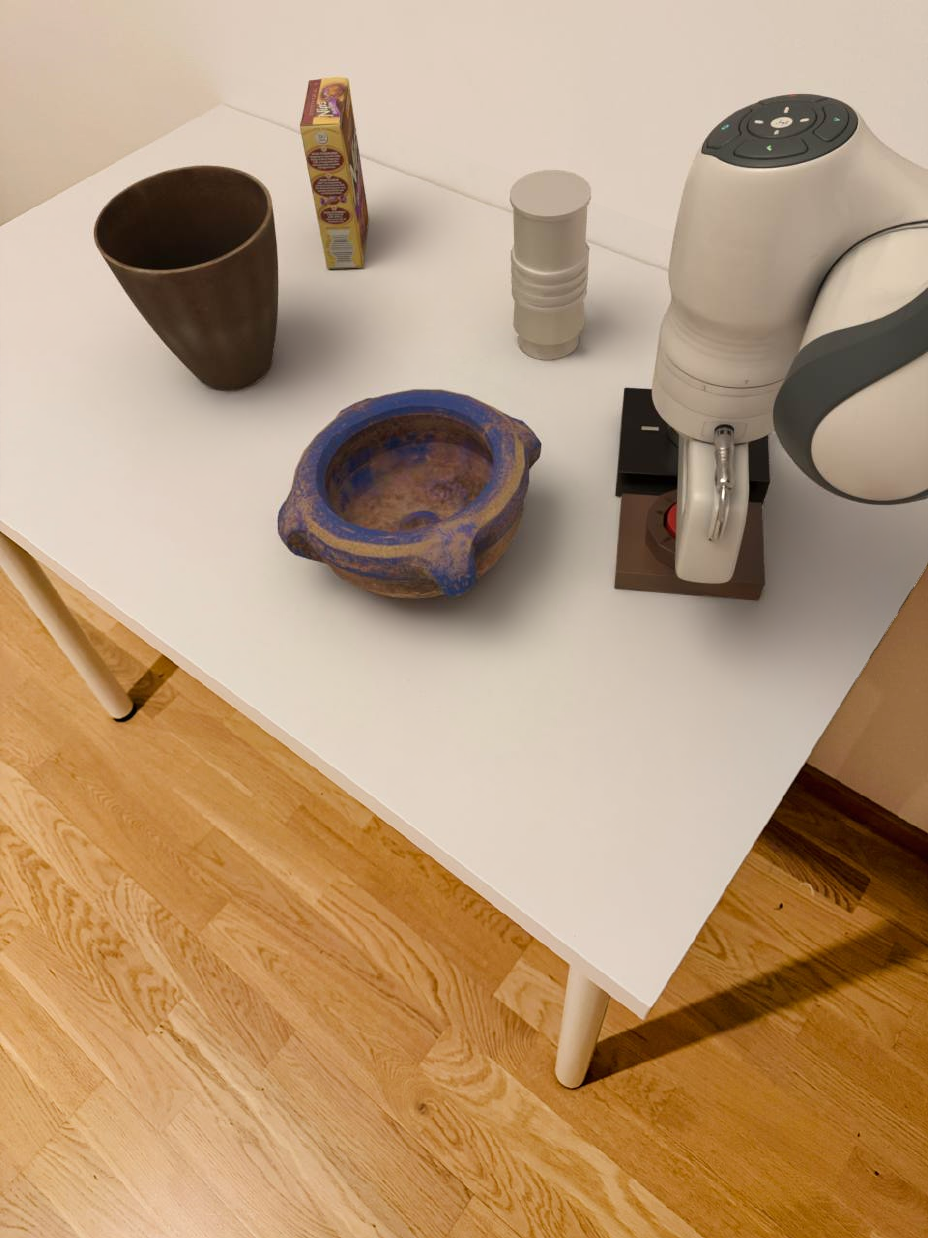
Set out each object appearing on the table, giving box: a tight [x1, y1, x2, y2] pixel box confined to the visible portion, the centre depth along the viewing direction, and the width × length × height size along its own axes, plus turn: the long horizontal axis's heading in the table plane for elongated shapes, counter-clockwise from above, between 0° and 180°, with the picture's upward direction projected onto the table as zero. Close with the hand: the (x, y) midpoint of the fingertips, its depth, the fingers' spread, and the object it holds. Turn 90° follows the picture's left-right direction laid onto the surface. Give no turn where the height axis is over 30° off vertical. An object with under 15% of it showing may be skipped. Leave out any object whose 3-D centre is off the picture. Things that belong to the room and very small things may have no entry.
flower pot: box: [93, 164, 279, 392], centre depth 82 cm, size 15×15×16 cm
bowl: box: [277, 388, 542, 599], centre depth 70 cm, size 18×18×10 cm
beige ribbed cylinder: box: [509, 169, 592, 361], centre depth 81 cm, size 7×7×15 cm
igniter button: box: [665, 504, 677, 539], centre depth 69 cm, size 4×4×2 cm
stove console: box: [614, 387, 771, 507], centre depth 76 cm, size 12×10×3 cm
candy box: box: [299, 76, 370, 270], centre depth 92 cm, size 9×4×15 cm, turn 179°
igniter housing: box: [613, 489, 766, 601], centre depth 70 cm, size 11×8×4 cm
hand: (693, 517), depth 68 cm, fingers closed, pressing on igniter button
